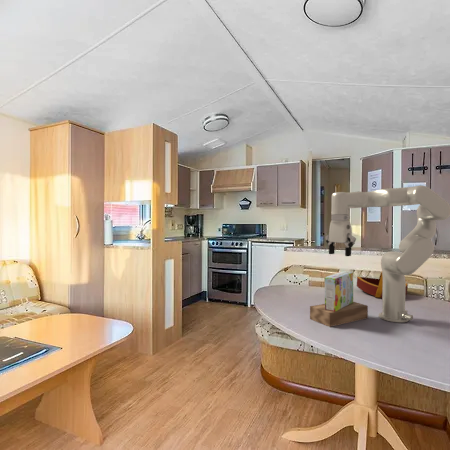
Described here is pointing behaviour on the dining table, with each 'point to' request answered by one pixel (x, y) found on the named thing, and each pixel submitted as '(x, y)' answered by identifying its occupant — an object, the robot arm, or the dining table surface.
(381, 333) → the dining table surface
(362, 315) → the walnut riser
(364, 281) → the decorative basket
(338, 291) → the snack box
